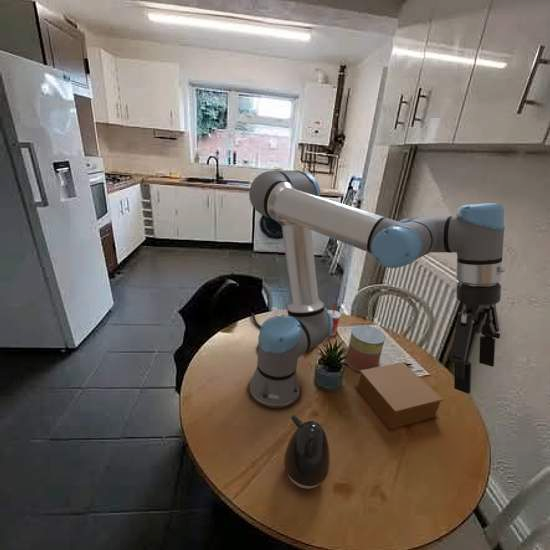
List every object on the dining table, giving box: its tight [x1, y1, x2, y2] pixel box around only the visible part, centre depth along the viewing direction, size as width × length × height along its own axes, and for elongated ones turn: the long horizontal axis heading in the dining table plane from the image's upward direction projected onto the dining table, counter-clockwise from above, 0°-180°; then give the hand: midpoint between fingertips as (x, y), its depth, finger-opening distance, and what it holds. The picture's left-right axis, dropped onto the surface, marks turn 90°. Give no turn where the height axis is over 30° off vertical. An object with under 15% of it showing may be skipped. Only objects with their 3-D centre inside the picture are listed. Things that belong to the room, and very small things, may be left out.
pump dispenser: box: [283, 414, 331, 490], centre depth 68 cm, size 10×10×15 cm
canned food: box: [345, 324, 386, 373], centre depth 109 cm, size 11×11×12 cm
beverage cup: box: [327, 301, 342, 337], centre depth 125 cm, size 6×6×14 cm
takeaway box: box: [357, 361, 444, 430], centre depth 93 cm, size 17×17×7 cm
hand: (475, 376), depth 67 cm, fingers open, 13 cm apart
